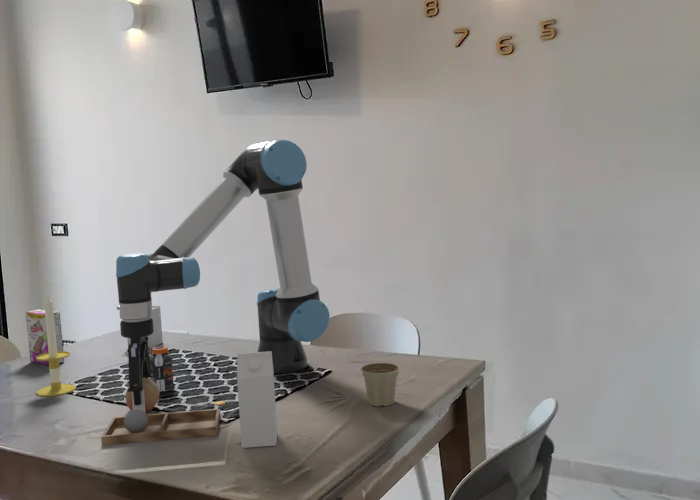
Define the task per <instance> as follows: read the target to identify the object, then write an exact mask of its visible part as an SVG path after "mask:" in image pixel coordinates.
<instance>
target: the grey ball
mask: <svg viewBox="0 0 700 500" xmlns="http://www.w3.org/2000/svg"><path fill="white" fill-rule="evenodd" d="M147 415H148V414H147V413H146V412H143V411H141V410H130V411H129V412H128V413H127V414H126V415H125V419H124V425H125V428H126V429H127V430H128V431H130V432H132V433H139V432H141V431H143V430H144V429H145V428H146V426H147V423H148V418H147Z"/></svg>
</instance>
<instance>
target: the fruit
mask: <svg viewBox="0 0 700 500" xmlns="http://www.w3.org/2000/svg"><path fill="white" fill-rule="evenodd" d="M134 386H137V385H134ZM128 389H129V386H128V387H127V389H126V392H125V396H124V397H125V403H126V406H127V408H128V409H129V410H130V411H132V410H133V407H132V393H131V392H128ZM143 389H144V400H145V413H148V412H151V411H152V410H153V409H154V407H155V406H156V405H157V404H158V402H159V400H160V399H159V398H160V393H161V392H159V388H158V386H157V384H156V383H155V382H154V381H152V380H151V379H148V378H143ZM143 389H142V390H143Z"/></svg>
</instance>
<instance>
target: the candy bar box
mask: <svg viewBox="0 0 700 500" xmlns="http://www.w3.org/2000/svg"><path fill="white" fill-rule="evenodd" d="M53 311H54V310H53ZM25 318H26V319H25V321H26V330H27V338H28V340H27V341H28V350H29V358H30V362H31V363H34V364H40V365H45V366H49V361H40V360H37V359H36V357H37V356H39V355H41V354H45V353H49V351H48V340H47V329H46V318H45V309H39V308H38V309H33V310H28V311H25ZM54 322H55V333H56V344H57V352H58V351H64V345H63V344H64V343H63V334H62V332H63V331H62V324H61V323H62V322H61V313H60V311H54ZM63 363H65V358H62V359H59V365H60V364H63Z"/></svg>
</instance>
